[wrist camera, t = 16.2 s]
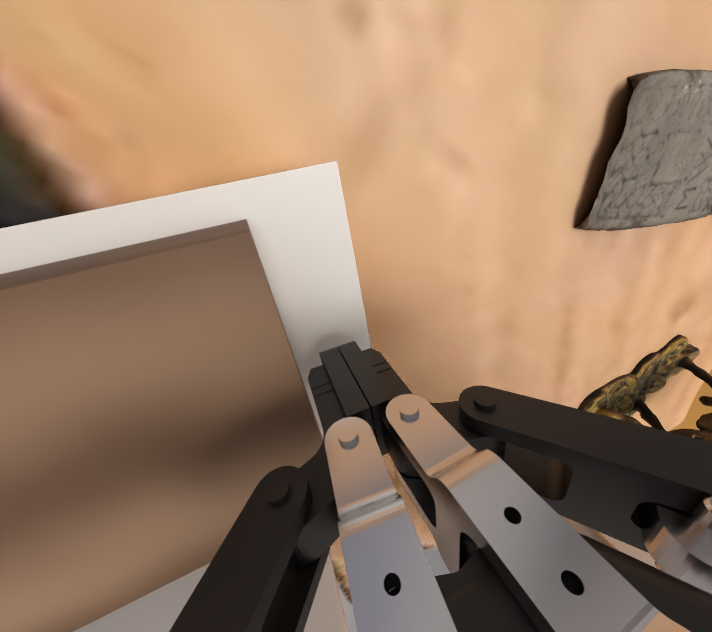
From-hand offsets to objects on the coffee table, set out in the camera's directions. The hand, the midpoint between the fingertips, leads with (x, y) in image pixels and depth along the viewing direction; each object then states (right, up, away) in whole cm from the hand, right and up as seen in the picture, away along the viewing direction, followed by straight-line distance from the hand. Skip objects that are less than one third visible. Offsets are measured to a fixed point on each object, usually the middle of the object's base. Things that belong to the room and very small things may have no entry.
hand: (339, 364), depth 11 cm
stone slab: (+30, +16, +13) cm, 37 cm away
